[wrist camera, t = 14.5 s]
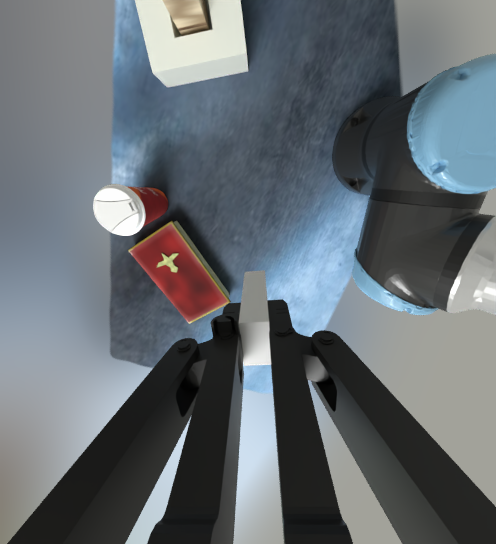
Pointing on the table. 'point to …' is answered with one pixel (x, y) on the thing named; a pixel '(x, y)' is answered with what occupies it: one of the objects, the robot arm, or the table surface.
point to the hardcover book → (181, 272)
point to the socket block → (194, 43)
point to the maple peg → (189, 15)
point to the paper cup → (128, 207)
